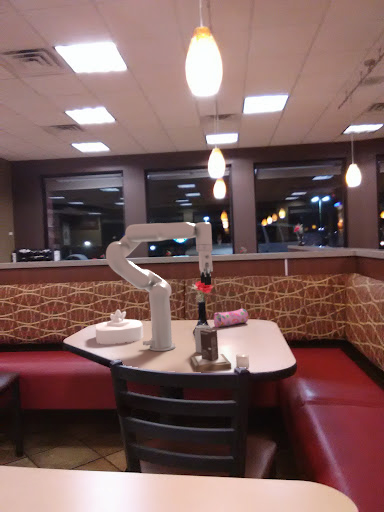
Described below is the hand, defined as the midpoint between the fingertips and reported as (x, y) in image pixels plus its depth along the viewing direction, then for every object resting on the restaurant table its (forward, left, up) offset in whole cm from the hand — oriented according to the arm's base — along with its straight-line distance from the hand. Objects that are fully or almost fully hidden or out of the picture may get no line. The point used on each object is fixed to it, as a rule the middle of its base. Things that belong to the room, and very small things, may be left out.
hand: (205, 283), depth 191 cm
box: (-5, -28, -28) cm, 40 cm away
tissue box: (-43, +34, -31) cm, 63 cm away
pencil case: (+22, +44, -31) cm, 58 cm away
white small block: (+7, -34, -30) cm, 46 cm away
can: (-4, -8, -31) cm, 32 cm away
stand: (-5, -28, -30) cm, 42 cm away
